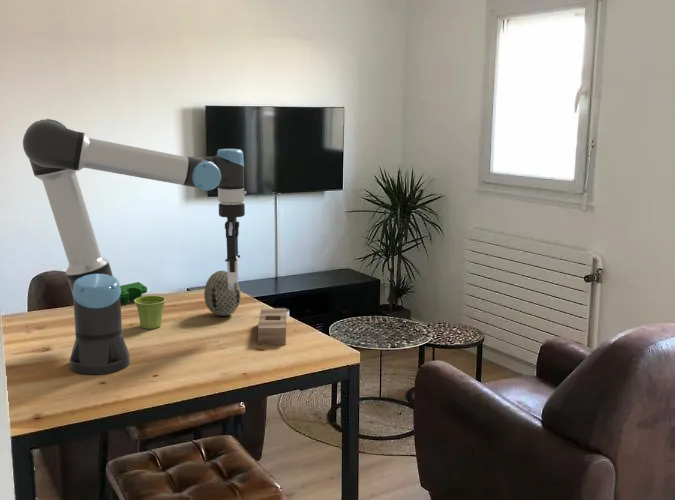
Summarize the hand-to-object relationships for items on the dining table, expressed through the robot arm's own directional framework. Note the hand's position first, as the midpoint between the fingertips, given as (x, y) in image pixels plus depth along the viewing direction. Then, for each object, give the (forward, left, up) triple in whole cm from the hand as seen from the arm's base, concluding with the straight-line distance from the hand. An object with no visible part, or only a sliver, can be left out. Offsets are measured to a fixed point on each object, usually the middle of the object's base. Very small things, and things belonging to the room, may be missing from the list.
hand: (233, 280), depth 215 cm
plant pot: (+9, +26, -17) cm, 33 cm away
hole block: (+2, -12, -17) cm, 21 cm away
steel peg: (0, 0, -3) cm, 3 cm away
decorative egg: (+21, +5, -17) cm, 27 cm away
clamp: (+36, +39, -17) cm, 56 cm away
